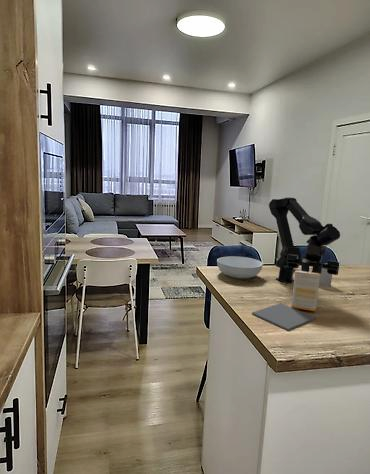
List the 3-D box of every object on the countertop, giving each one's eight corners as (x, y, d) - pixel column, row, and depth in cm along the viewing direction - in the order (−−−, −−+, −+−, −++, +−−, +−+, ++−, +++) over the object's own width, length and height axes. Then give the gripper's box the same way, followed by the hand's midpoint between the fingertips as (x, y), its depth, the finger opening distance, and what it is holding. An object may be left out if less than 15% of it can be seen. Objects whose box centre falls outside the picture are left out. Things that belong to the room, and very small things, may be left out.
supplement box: (314, 309, 118) (319, 273, 118) (315, 312, 114) (320, 274, 113) (290, 305, 121) (295, 269, 121) (290, 307, 116) (295, 270, 116)
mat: (280, 304, 121) (280, 303, 121) (316, 318, 110) (316, 317, 110) (251, 314, 111) (252, 312, 111) (287, 330, 100) (288, 328, 100)
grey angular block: (330, 287, 145) (333, 265, 143) (314, 285, 147) (317, 263, 145) (329, 284, 149) (332, 263, 147) (313, 282, 150) (316, 261, 148)
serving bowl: (245, 268, 168) (247, 255, 166) (270, 281, 148) (272, 266, 147) (208, 270, 160) (209, 256, 159) (229, 284, 141) (230, 268, 140)
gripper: (290, 233, 128) (281, 267, 120) (343, 240, 120) (337, 277, 112) (290, 250, 136) (282, 282, 129) (340, 257, 129) (335, 292, 121)
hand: (308, 283), depth 122 cm, fingers closed
